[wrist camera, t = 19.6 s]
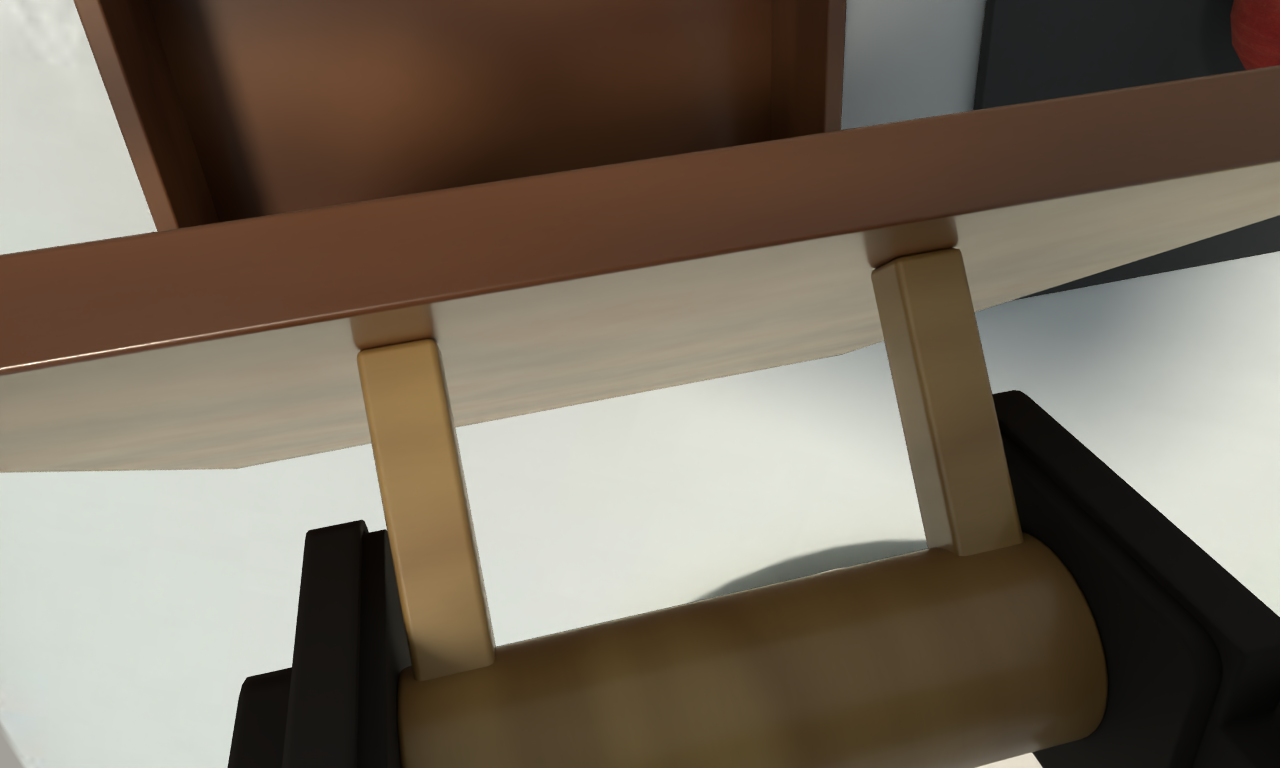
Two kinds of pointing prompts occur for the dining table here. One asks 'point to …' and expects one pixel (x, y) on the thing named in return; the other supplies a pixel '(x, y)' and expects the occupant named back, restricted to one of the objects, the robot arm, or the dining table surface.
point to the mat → (1114, 82)
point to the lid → (654, 359)
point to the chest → (443, 91)
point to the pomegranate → (1256, 32)
